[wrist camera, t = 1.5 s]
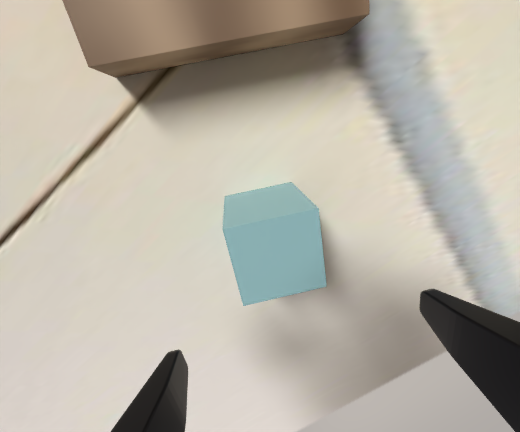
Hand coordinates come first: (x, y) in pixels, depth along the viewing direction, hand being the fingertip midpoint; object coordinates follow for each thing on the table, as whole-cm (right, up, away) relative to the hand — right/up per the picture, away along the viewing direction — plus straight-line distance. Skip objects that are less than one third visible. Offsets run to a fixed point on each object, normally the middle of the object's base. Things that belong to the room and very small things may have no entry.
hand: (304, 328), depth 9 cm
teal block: (-1, +4, +10) cm, 11 cm away
